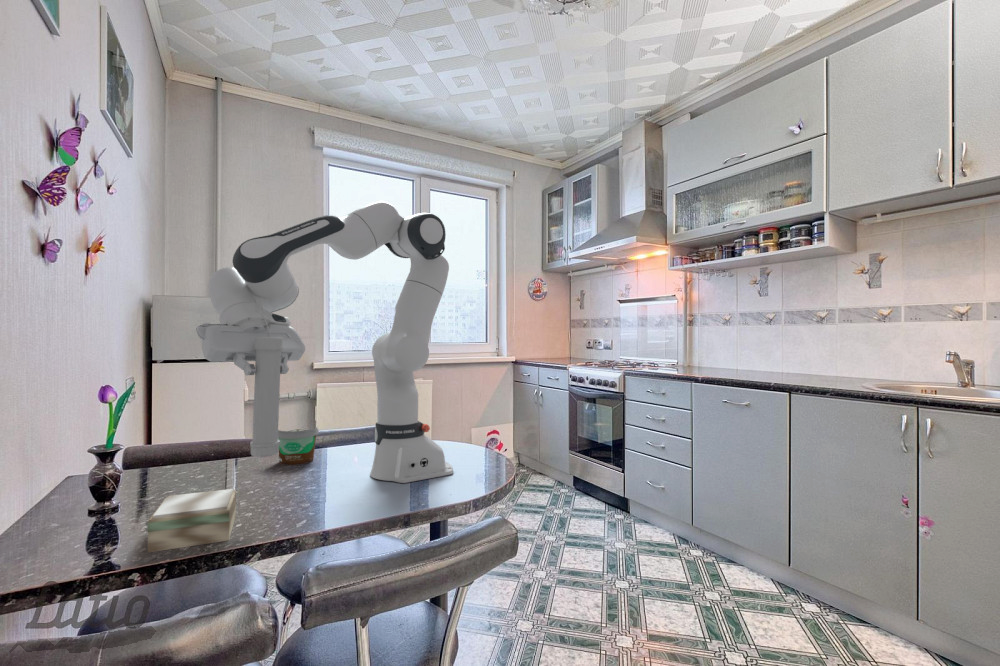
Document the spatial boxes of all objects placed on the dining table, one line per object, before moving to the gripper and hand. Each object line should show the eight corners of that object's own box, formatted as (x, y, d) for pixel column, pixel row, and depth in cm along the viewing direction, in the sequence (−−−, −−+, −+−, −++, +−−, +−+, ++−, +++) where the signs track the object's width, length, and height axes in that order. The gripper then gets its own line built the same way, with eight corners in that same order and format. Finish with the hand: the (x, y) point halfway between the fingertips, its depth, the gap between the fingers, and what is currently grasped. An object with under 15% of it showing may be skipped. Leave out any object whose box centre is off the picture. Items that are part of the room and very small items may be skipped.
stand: (235, 517, 94) (236, 487, 94) (228, 541, 83) (229, 507, 83) (164, 526, 89) (165, 495, 89) (146, 553, 78) (147, 517, 78)
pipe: (267, 458, 91) (272, 308, 92) (240, 456, 92) (245, 308, 93) (285, 451, 97) (290, 310, 97) (259, 449, 98) (264, 310, 99)
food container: (272, 468, 130) (273, 432, 130) (273, 462, 135) (274, 429, 136) (319, 463, 135) (319, 430, 135) (318, 458, 140) (319, 426, 141)
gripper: (199, 312, 91) (220, 363, 85) (295, 318, 108) (318, 361, 102) (188, 334, 93) (208, 385, 87) (284, 337, 110) (306, 380, 104)
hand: (268, 372), depth 95 cm, fingers closed on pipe, 5 cm apart
